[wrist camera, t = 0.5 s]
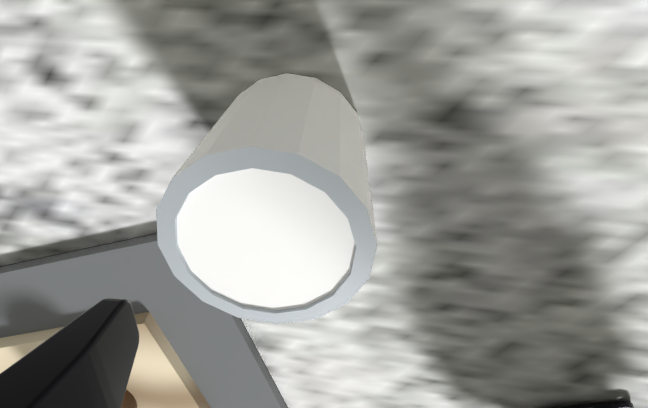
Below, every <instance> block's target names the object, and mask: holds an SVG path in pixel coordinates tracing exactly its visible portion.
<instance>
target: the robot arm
mask: <svg viewBox="0 0 648 408" xmlns="http://www.w3.org/2000/svg"><path fill="white" fill-rule="evenodd" d="M138 345H139V330H138V327H137V323H136V319H135V316H134V312H133V308H132V305H131V303H130V301H129V300H127V299H123V298H105V299H103V300H101V301H99V302H98V303H97V304H95V305H94V306H92V307H91V308H90V309H88V310H87V311H86V312H84V313H83V314H81V315H80V316H79V317H77V318H76V319H75V320H73V321H72V322H70V323H69V324H68V325H66V326H65V327H64V328H62V329H61V330H59V331H58V332H57V333H55V334H54V335H53V336H51V337H50V338H48V339H47V340H46V341H44V342H43V343H42V344H40V345H39V346H37V347H36V348H35V349H33V350H32V351H31V352H29V353H28V354H26V355H25V356H24V357H22V358H21V359H20V360H18V361H17V362H15V363H14V364H13V365H11V366H10V367H9V368H7V369H6V370H4V371H3V372H2V373H0V408H121V405H122V402H123V398H124V395H125V391H126V388H127V384H128V381H129V377H130V374H131V370H132V367H133V363H134V360H135V356H136V353H137V349H138ZM560 408H634V407H633V404H632V403H631V402H630V401H614V402H605V403H596V404H587V405H578V406H569V407H560Z"/></svg>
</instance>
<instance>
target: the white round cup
mask: <svg viewBox="0 0 648 408" xmlns="http://www.w3.org/2000/svg"><path fill="white" fill-rule="evenodd" d="M156 216H157V240H158V246H159V248H160V250H161V252H162V254H163V255H164V257H165V259H166V261H167V263H168V265H169V267H170V269H171V271H172V272H173V274H174V276H175V277H176V278H177V279H178V280H179V281H180V282H182V283H183V284H184V285H185V286H186V287H187V288H188V289H189V290H191V291H192V292H193V293H194V294H195V295H196V296H197V297H198V298H199V299H201V300H202V301H203V302H205V303H207V304H209V305H212V306H214V307H216V308H218V309H220V310H222V311H225V312H227V313H229V314H231V315H233V316H235V317H238V318H242V319H249V320H255V321H261V322H268V323H274V324H282V323H289V322H297V321H305V320H312V319H317V318H319V317H321V316H323V315H325V314H327V313H329V312H331V311H333V310H335V309H337V308H339V307H341V306H343V305H345V304H347V303H348V302H349V301H350V300H351V299H352V297H353V296H354V295H355V294H356V293H357V292H358V290H359V289H360V288H361V287H362V286H363V285H364V283H365V282H366V281H367V280H368V279H369V277H370V273H371V269H372V265H373V260H374V256H375V252H376V248H377V240H376V232H375V224H374V216H373V208H372V200H371V192H370V185H369V177H368V169H367V161H366V153H365V145H364V138H363V134H362V130H361V126H360V122H359V118H358V114H357V113H356V111H355V110H354V109H353V107H352V106H351V105H350V104H349V102H348V101H347V100H346V99H345V97H344V96H343V95H342V93H341V92H339V91H338V90H336V89H334V88H333V87H331V86H329V85H327V84H326V83H324V82H322V81H320V80H319V79H317V78H314V77H308V76H302V75H295V74H289V73H285V74H281V75H277V76H272V77H268V78H263V79H259V80H258V81H257V82H255V83H254V84H253V85H251V86H250V87H249V88H247V89H246V90H244V91H243V92H242V93H240V94H239V95H238V96H237V97H236V99H235V100H234V101H233V102H232V104H231V105H230V106H229V107H228V109H227V110H226V111H225V113H224V114H223V115H222V116H221V118H220V119H219V120H218V121H217V123H216V124H215V125H214V126H213V128H212V129H211V130H210V131H209V133H208V134H207V135H206V136H205V138H204V139H203V140H202V141H201V143H200V144H199V145H198V147H197V148H196V149H195V150H194V152H193V153H192V154H191V155H190V157H189V158H188V159H187V160H186V162H185V163H184V164H183V165H182V167H181V168H180V169H179V170H178V172H177V173H176V174H175V176H174V177H173V178H172V180H171V182H170V184H169V186H168V188H167V190H166V192H165V194H164V196H163V198H162V200H161V202H160V204H159V206H158V208H157V210H156Z"/></svg>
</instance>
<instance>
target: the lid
mask: <svg viewBox="0 0 648 408" xmlns="http://www.w3.org/2000/svg"><path fill="white" fill-rule="evenodd" d="M134 316H135V319H136V323H137V327H138V330H139V345H138V349H137V353H136V356H135V360H134V363H133V367H132V370H131V374H130V377H129V381H128V384H127V388H126V391H125V395H124V398H123V402H122V405H121V408H211V407H210V405H209V404H208V402H207V401H206V399H205V398H204V396H203V395H202V393H201V391H200V390H199V388H198V387H197V385H196V384H195V382H194V380H193V379H192V377H191V376H190V374H189V373H188V371H187V370H186V368H185V366H184V365H183V363H182V362H181V360H180V359H179V357H178V355H177V354H176V352H175V351H174V349H173V348H172V346H171V345H170V343H169V341H168V340H167V338H166V337H165V335H164V334H163V332H162V330H161V329H160V327H159V326H158V324H157V323H156V321H155V320H154V318H153V316H152V315H151V313H150V312H144V313H139V314H134ZM62 328H64V327H60V328H54V329H49V330H43V331H37V332H32V333H26V334H20V335H15V336H9V337H3V338H0V373H2V372H3V371H4V370H6V369H7V368H9V367H10V366H11V365H13V364H14V363H15V362H17V361H18V360H20V359H21V358H22V357H24V356H25V355H26V354H28V353H29V352H31V351H32V350H33V349H35V348H36V347H37V346H39V345H40V344H42V343H43V342H44V341H46V340H47V339H48V338H50V337H51V336H53V335H54V334H55V333H57V332H58V331H59V330H61V329H62Z"/></svg>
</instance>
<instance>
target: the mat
mask: <svg viewBox="0 0 648 408" xmlns="http://www.w3.org/2000/svg"><path fill="white" fill-rule="evenodd" d="M105 298H123V299H127V300H129V301H130V303H131V305H132V308H133V312H134V314H139V313H144V312H150V313H151V315H152V316H153V318H154V320H155V321H156V323H157V324H158V326H159V327H160V329H161V330H162V332H163V334H164V335H165V337H166V338H167V340H168V341H169V343H170V345H171V346H172V348H173V349H174V351H175V352H176V354H177V355H178V357H179V359H180V360H181V362H182V363H183V365H184V366H185V368H186V370H187V371H188V373H189V374H190V376H191V377H192V379H193V380H194V382H195V384H196V385H197V387H198V388H199V390H200V391H201V393H202V395H203V396H204V398H205V399H206V401H207V402H208V404H209V405H210V407H211V408H288V407H287V406H286V404H285V402H284V400H283V398H282V396H281V394H280V392H279V390H278V389H277V387H276V385H275V383H274V381H273V379H272V377H271V375H270V373H269V372H268V370H267V368H266V366H265V364H264V362H263V360H262V358H261V357H260V355H259V353H258V351H257V349H256V347H255V345H254V343H253V341H252V340H251V338H250V336H249V334H248V332H247V330H246V328H245V326H244V325H243V323H242V321H241V319H240V318H238V317H235V316H233V315H231V314H229V313H227V312H225V311H222V310H220V309H218V308H216V307H214V306H212V305H209V304H207V303H205V302H203V301H202V300H201V299H199V298H198V297H197V296H196V295H195V294H194V293H193V292H192V291H191V290H189V289H188V288H187V287H186V286H185V285H184V284H183V283H182V282H180V281H179V280H178V279H177V278H176V277H175V276H174V274H173V272H172V271H171V269H170V267H169V265H168V263H167V261H166V259H165V257H164V255H163V254H162V252H161V250H160V248H159V246H158V240H157V234H153V235H148V236H144V237H139V238H134V239H129V240H125V241H120V242H115V243H111V244H106V245H101V246H96V247H92V248H87V249H82V250H78V251H73V252H68V253H64V254H59V255H54V256H49V257H45V258H40V259H35V260H31V261H26V262H21V263H17V264H12V265H7V266H2V267H0V338H3V337H9V336H15V335H20V334H26V333H32V332H37V331H43V330H49V329H54V328H60V327H65V326H66V325H68V324H69V323H70V322H72V321H73V320H75V319H76V318H77V317H79V316H80V315H81V314H83V313H84V312H86V311H87V310H88V309H90V308H91V307H92V306H94V305H95V304H97V303H98V302H99V301H101V300H103V299H105Z"/></svg>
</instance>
